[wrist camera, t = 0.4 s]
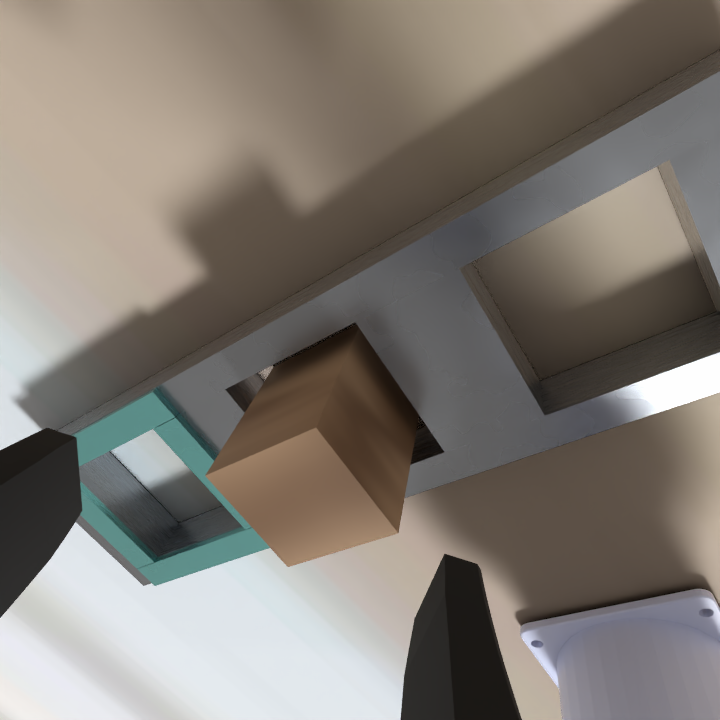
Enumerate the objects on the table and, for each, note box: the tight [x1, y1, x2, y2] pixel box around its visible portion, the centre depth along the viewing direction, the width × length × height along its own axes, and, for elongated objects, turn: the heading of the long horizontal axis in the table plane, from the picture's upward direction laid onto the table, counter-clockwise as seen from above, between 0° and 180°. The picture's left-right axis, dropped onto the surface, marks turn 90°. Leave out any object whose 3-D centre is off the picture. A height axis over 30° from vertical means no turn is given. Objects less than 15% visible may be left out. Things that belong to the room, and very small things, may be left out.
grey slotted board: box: [57, 50, 720, 586], centre depth 20 cm, size 8×28×2 cm, turn 124°
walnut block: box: [205, 325, 419, 567], centre depth 18 cm, size 4×4×6 cm
